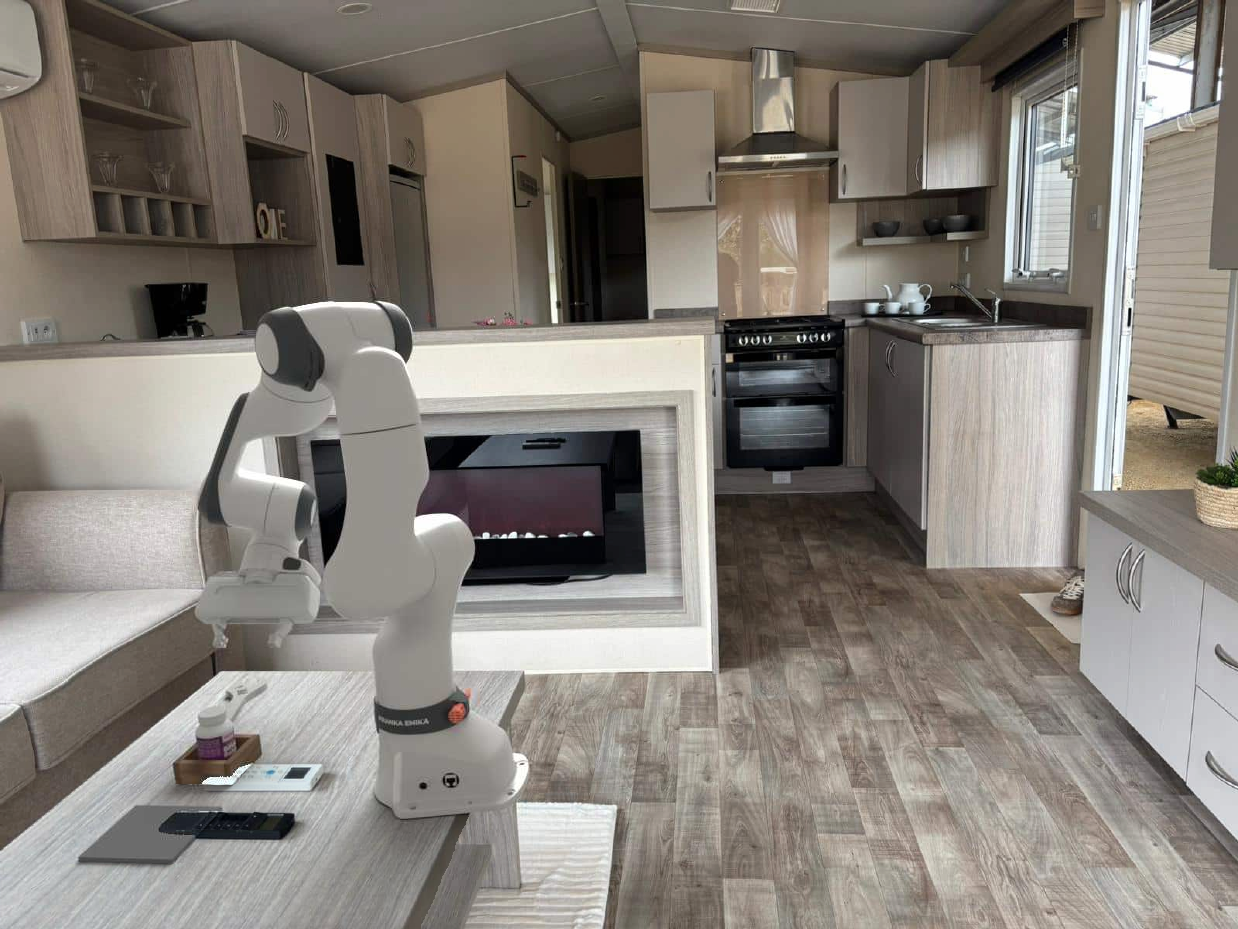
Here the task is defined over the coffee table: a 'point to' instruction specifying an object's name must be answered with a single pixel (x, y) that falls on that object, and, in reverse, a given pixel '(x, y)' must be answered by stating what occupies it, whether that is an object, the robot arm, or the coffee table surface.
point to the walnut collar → (216, 761)
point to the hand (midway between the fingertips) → (245, 646)
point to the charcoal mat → (142, 837)
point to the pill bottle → (215, 734)
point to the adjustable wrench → (242, 696)
